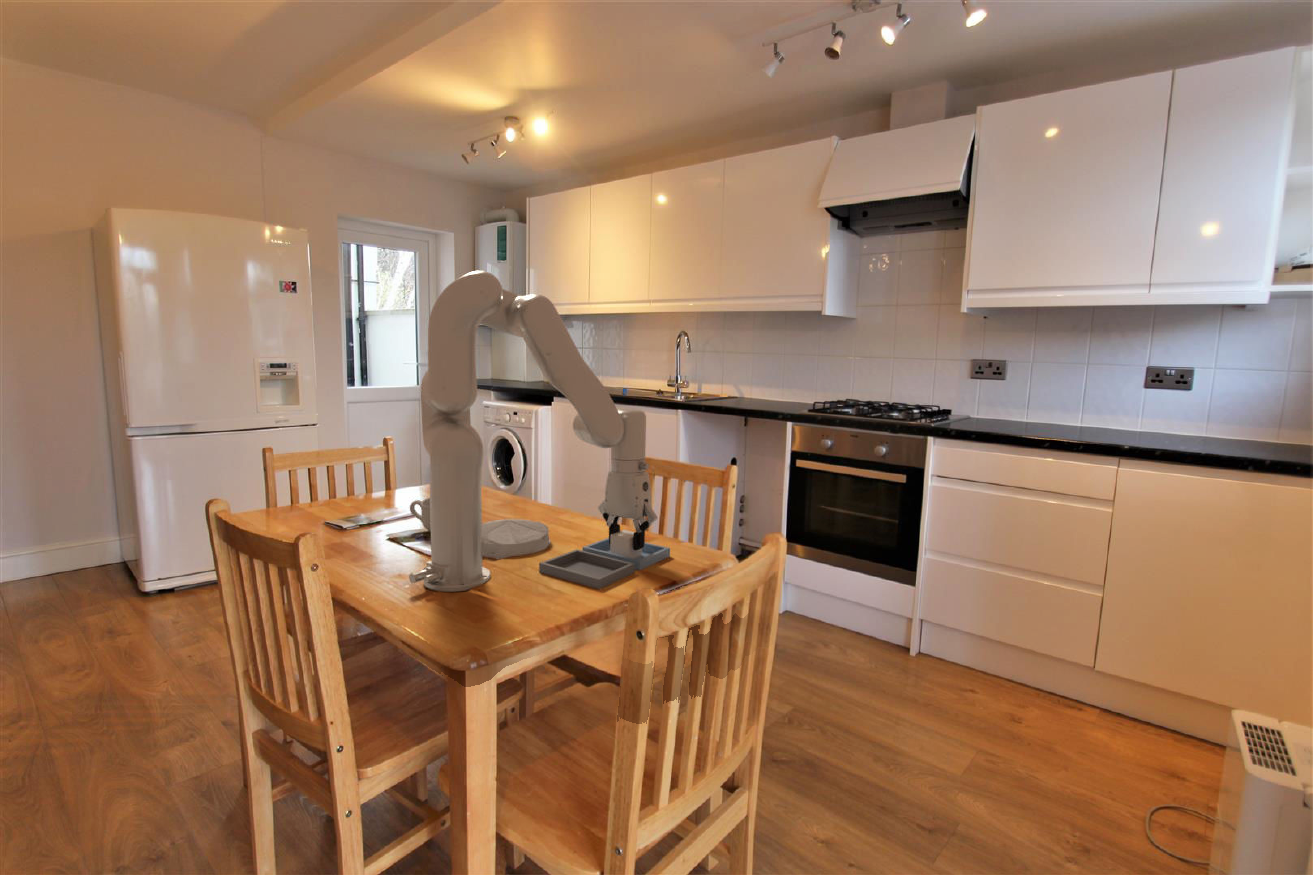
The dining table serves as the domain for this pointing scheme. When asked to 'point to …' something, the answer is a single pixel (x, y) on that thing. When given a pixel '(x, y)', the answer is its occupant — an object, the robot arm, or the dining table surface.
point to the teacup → (425, 512)
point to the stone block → (624, 544)
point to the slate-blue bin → (648, 557)
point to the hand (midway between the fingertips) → (626, 545)
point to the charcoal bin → (587, 568)
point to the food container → (513, 538)
